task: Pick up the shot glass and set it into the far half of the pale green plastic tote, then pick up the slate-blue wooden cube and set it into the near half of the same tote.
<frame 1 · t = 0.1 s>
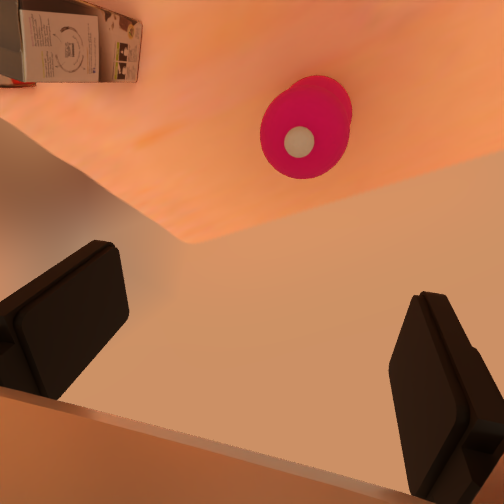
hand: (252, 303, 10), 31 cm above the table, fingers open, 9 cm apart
pepper mill: (316, 112, 36), on the table
coffee box: (105, 40, 37), on the table
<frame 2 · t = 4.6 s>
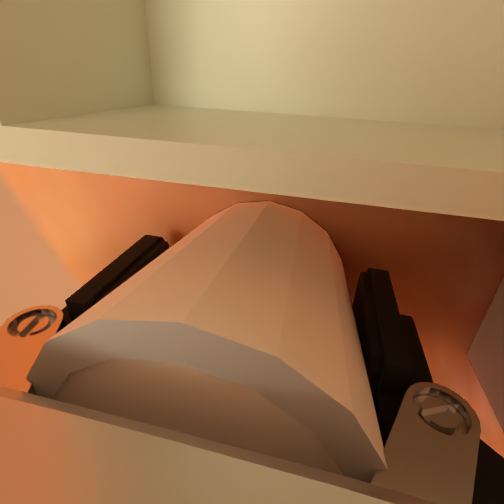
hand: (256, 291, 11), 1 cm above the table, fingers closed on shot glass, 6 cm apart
shot glass: (264, 271, 12), on the table, touching gripper
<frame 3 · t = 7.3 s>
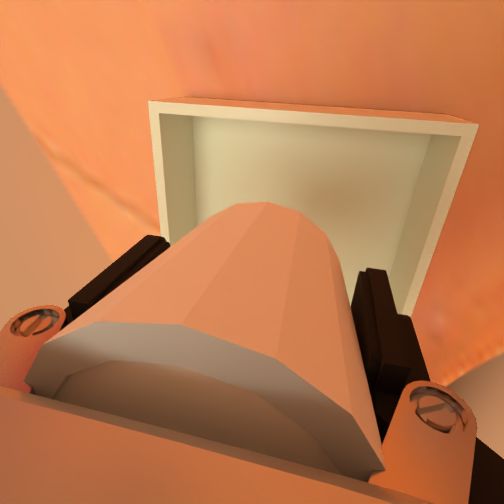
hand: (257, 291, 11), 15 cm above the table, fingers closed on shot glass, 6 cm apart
tote: (293, 223, 26), on the table
shot glass: (263, 271, 12), point 14 cm above the table, touching gripper
when the fingers open (3 cm above the table, at t = 10.0 s): shot glass drops 1 cm, resting on tote.
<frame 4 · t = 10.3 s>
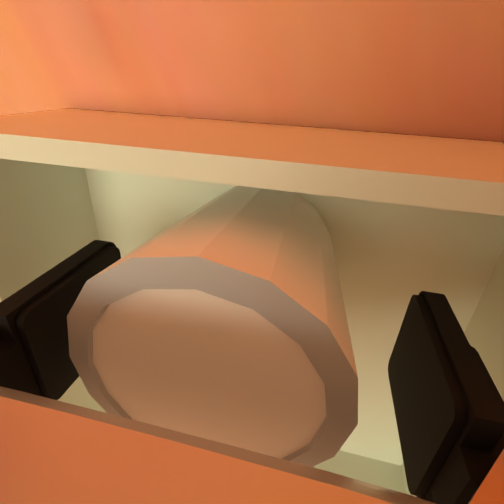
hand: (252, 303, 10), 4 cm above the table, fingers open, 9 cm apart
tote: (267, 316, 15), on the table
shot glass: (262, 247, 13), resting on tote
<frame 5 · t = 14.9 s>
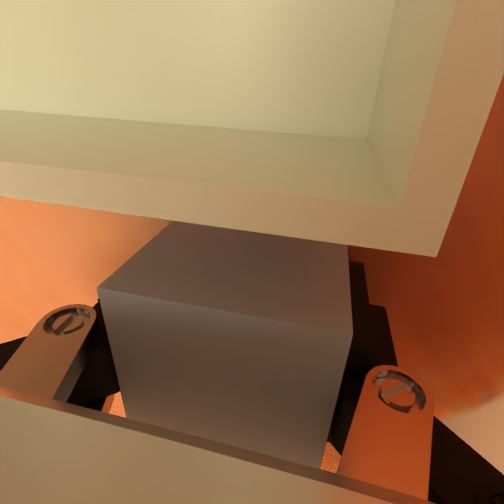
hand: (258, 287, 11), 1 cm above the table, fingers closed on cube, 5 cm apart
cube: (261, 279, 12), on the table, touching gripper
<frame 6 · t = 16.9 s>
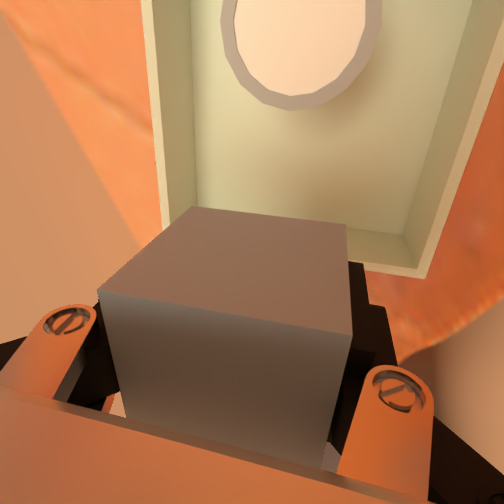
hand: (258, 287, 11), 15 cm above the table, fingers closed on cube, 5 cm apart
tote: (308, 108, 22), on the table
cube: (261, 280, 12), point 15 cm above the table, touching gripper
shot glass: (309, 40, 20), resting on tote
when the fingers open (3 cm above the table, at t = 19.4 s): cube drops 2 cm, resting on tote.
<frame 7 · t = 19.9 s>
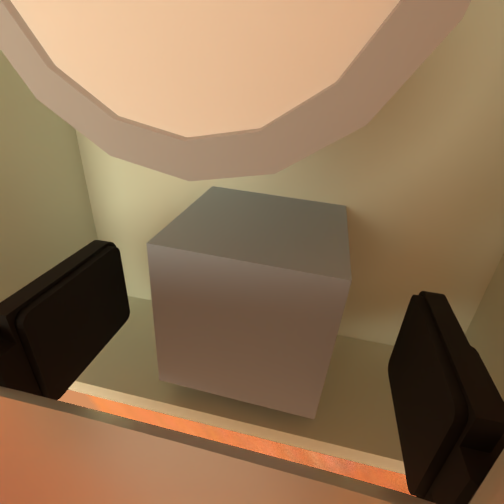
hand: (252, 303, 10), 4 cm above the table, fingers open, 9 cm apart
tote: (282, 137, 11), on the table
cube: (270, 254, 13), resting on tote
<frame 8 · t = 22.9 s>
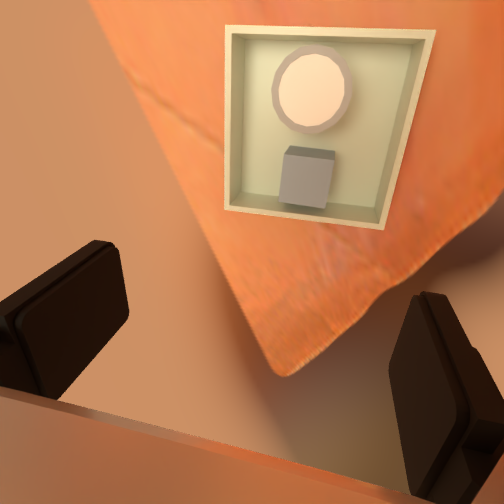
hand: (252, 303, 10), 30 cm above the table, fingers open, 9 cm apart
tote: (314, 128, 36), on the table
cube: (308, 170, 37), resting on tote
shot glass: (315, 89, 34), resting on tote
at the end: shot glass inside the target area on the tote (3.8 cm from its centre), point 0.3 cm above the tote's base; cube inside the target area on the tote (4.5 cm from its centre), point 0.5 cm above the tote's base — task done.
